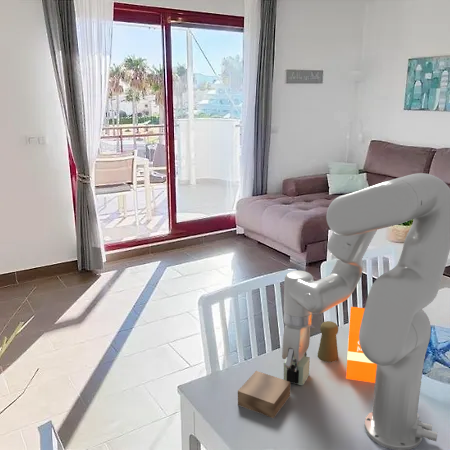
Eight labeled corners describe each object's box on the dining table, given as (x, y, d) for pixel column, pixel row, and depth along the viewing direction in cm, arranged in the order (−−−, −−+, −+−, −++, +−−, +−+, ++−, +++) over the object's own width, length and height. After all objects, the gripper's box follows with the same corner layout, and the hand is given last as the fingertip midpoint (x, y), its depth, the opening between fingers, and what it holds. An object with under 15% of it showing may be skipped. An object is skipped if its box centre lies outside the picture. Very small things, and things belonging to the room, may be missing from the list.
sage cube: (309, 374, 129) (309, 357, 127) (302, 385, 124) (303, 367, 122) (290, 369, 131) (290, 352, 130) (283, 380, 126) (283, 362, 125)
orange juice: (346, 363, 134) (350, 300, 128) (378, 367, 131) (384, 304, 126) (345, 379, 126) (350, 313, 121) (379, 384, 124) (385, 317, 118)
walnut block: (290, 396, 120) (290, 381, 119) (273, 419, 112) (273, 403, 111) (256, 385, 125) (256, 370, 124) (237, 406, 117) (237, 390, 116)
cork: (336, 351, 140) (338, 318, 137) (339, 362, 134) (341, 328, 131) (316, 350, 140) (318, 318, 137) (318, 361, 135) (320, 328, 131)
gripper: (295, 301, 131) (294, 357, 136) (272, 328, 117) (272, 389, 122) (321, 306, 128) (318, 363, 133) (301, 334, 113) (299, 397, 118)
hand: (296, 375), depth 127 cm, fingers closed on sage cube, 5 cm apart
